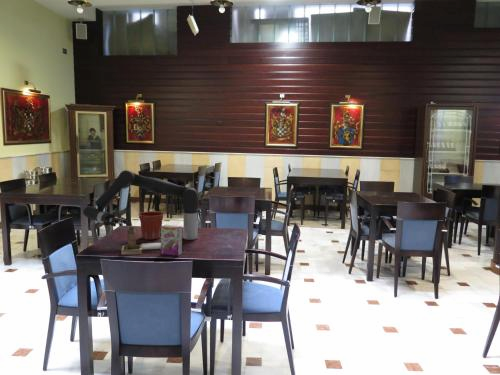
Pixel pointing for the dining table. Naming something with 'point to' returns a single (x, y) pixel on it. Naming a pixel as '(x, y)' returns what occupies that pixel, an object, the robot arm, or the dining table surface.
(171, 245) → the candy bar box
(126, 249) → the collar
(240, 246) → the dining table surface
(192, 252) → the dining table surface
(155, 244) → the mat
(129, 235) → the pepper mill
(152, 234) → the flower pot
